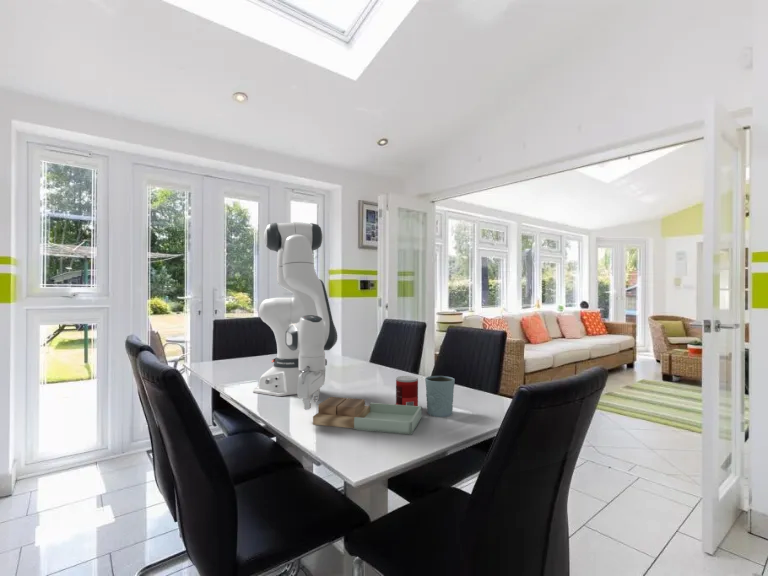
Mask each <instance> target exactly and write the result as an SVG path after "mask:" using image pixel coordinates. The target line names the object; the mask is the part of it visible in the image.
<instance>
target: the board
mask: <svg viewBox="0 0 768 576" xmlns="http://www.w3.org/2000/svg"><path fill="white" fill-rule="evenodd" d="M369 412H370V405H365V409H364V410H362V411H361V412H360V413H359V414H358V415H357V416H356V417H360V418H364V417H365V416H366V415H367V414H368V413H369ZM354 418H355V417H348V416H337V415H325V414H318V412H317V413H316V414H315V415H312V425H316V426H326V427H337V428H346V429H347V428H348V429H354Z"/></svg>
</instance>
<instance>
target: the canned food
mask: <svg viewBox="0 0 768 576" xmlns="http://www.w3.org/2000/svg"><path fill="white" fill-rule="evenodd" d="M395 405H408V406H419V377H417V376H414V375H401V376H398V377H397V376H396V379H395Z"/></svg>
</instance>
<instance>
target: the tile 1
mask: <svg viewBox="0 0 768 576" xmlns="http://www.w3.org/2000/svg"><path fill="white" fill-rule="evenodd" d="M346 399H348V398H347V397H338V396H330V397H328V398H326V399H325V400H323V401H322V402H320V403H319V404H317V405H318V406H317V407H318V408H317V410H318V412H317V413H318V414H325V415H337V406H338V405H340V404H341V403H342V402H344V401H345V400H346Z"/></svg>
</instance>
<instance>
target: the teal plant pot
mask: <svg viewBox="0 0 768 576" xmlns="http://www.w3.org/2000/svg"><path fill="white" fill-rule="evenodd" d="M424 381H425V382H424V383H425V391H426V394H425V395H426V396H425V397H426V412H427V414H428V415H429V416H431V417H437V418H445V417H451V416H452V415H453V410H454V409H453V408H454V405H453V404H454V403H453V402H454V388H455V381H456V380H455V378H453V377H451V376H446V375H445V376H444V375H431V376H430V375H429V376H426V377H425V379H424Z"/></svg>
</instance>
